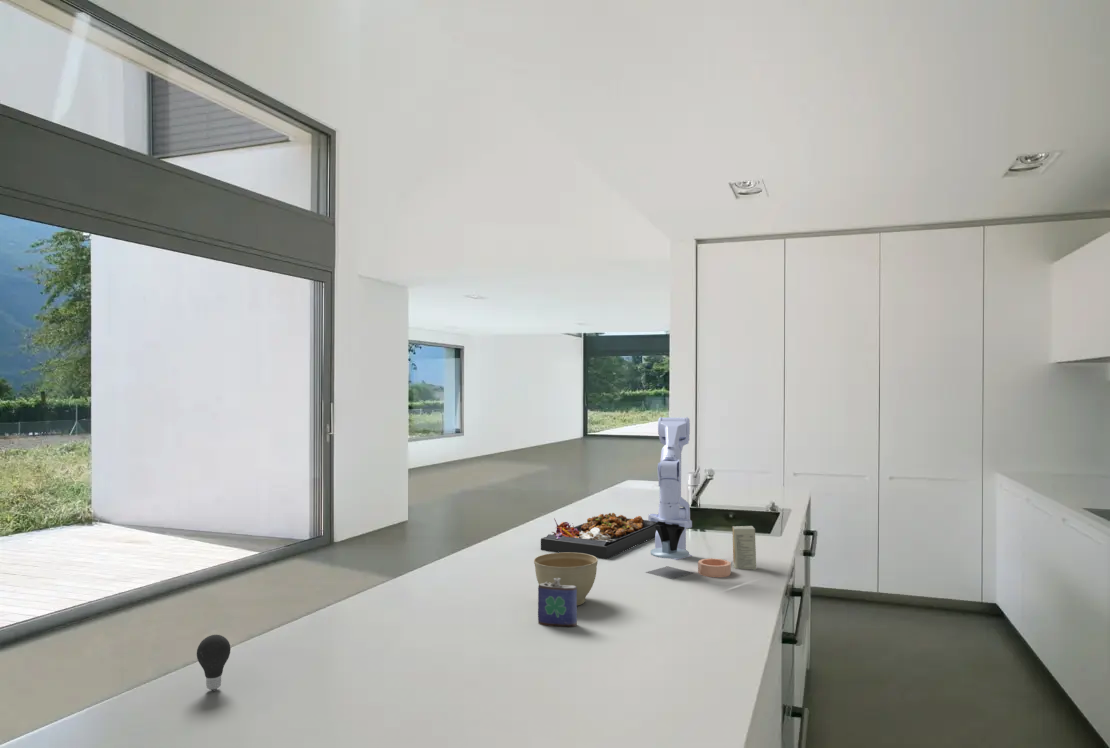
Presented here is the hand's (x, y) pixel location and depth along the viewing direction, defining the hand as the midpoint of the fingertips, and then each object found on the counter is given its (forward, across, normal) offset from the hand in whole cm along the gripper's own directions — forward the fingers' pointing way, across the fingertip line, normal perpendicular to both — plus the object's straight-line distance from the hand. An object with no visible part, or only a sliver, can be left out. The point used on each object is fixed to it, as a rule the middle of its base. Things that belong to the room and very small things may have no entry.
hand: (669, 549), depth 211 cm
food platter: (+8, -43, +17) cm, 47 cm away
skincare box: (+7, +11, +21) cm, 25 cm away
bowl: (+7, +9, +9) cm, 15 cm away
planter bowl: (+7, -1, -40) cm, 41 cm away
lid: (+1, 0, 0) cm, 1 cm away
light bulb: (+7, -6, -123) cm, 123 cm away
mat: (+7, 0, 0) cm, 7 cm away
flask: (+7, +10, -53) cm, 55 cm away
